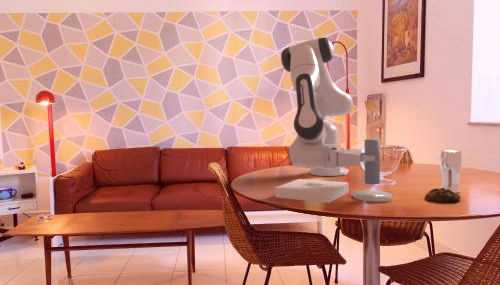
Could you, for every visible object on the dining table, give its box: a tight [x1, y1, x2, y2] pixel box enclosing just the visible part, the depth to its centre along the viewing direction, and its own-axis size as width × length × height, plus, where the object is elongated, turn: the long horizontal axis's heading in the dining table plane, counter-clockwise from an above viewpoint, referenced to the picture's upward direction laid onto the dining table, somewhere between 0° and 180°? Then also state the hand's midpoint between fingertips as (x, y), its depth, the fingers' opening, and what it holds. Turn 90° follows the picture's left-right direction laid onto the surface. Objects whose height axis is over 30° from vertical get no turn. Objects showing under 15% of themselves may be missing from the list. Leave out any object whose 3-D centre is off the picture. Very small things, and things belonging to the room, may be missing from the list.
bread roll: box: [424, 187, 461, 204], centre depth 136 cm, size 11×11×5 cm
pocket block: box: [274, 178, 350, 204], centre depth 147 cm, size 20×20×4 cm
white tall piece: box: [439, 149, 462, 194], centre depth 148 cm, size 7×7×15 cm
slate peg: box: [364, 138, 381, 185], centre depth 139 cm, size 5×5×15 cm
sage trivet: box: [352, 190, 393, 204], centre depth 140 cm, size 13×13×2 cm
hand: (374, 157), depth 139 cm, fingers closed on slate peg, 5 cm apart
